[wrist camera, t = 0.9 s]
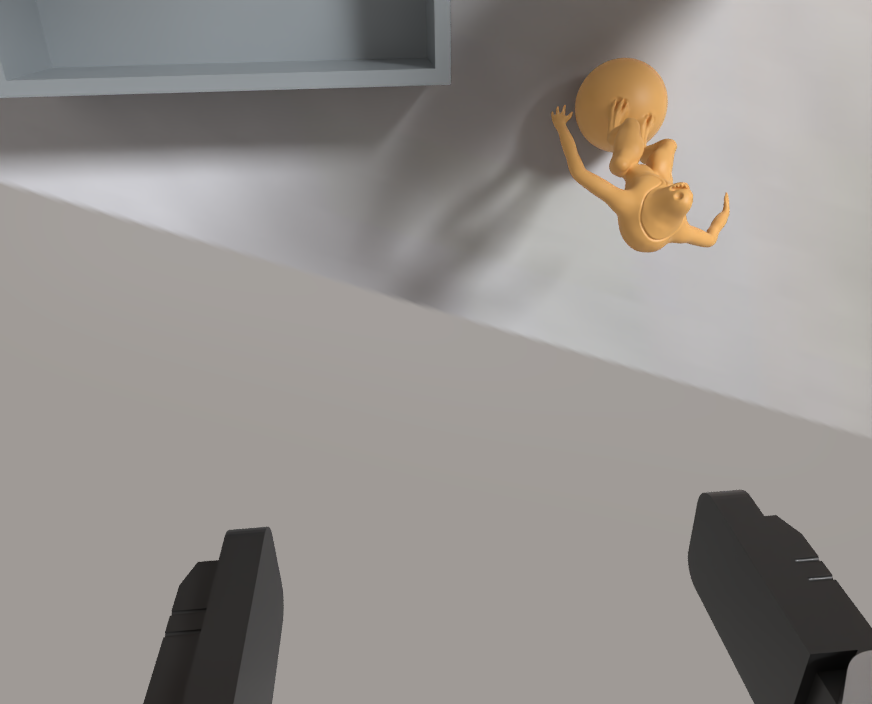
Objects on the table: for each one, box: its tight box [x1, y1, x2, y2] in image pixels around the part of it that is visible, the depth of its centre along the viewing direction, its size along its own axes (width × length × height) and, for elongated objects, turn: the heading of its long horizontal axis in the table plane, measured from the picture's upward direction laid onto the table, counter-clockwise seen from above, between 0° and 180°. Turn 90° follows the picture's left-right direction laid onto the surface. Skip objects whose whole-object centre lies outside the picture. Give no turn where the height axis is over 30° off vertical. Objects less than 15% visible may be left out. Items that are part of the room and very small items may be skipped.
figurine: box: [551, 58, 729, 252], centre depth 29 cm, size 8×6×12 cm
